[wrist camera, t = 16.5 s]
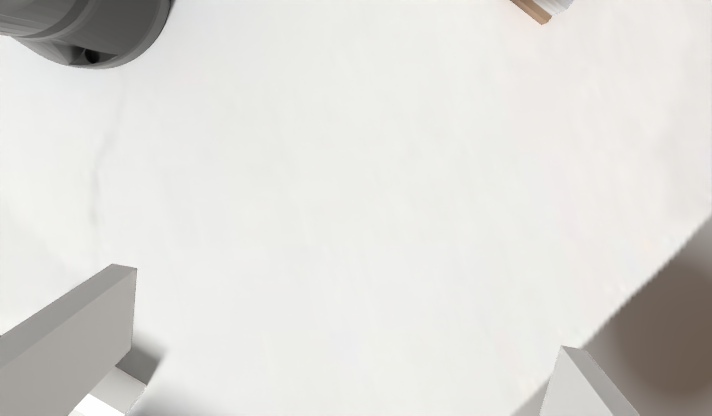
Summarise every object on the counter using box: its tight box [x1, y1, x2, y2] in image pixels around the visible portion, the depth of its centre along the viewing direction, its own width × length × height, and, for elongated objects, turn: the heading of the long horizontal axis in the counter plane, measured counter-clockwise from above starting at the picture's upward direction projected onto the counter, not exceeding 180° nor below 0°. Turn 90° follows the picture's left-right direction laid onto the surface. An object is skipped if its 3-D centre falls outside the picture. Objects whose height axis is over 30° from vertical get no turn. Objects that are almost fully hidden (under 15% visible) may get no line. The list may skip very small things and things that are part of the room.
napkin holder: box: [74, 366, 147, 416], centre depth 49 cm, size 15×11×6 cm
